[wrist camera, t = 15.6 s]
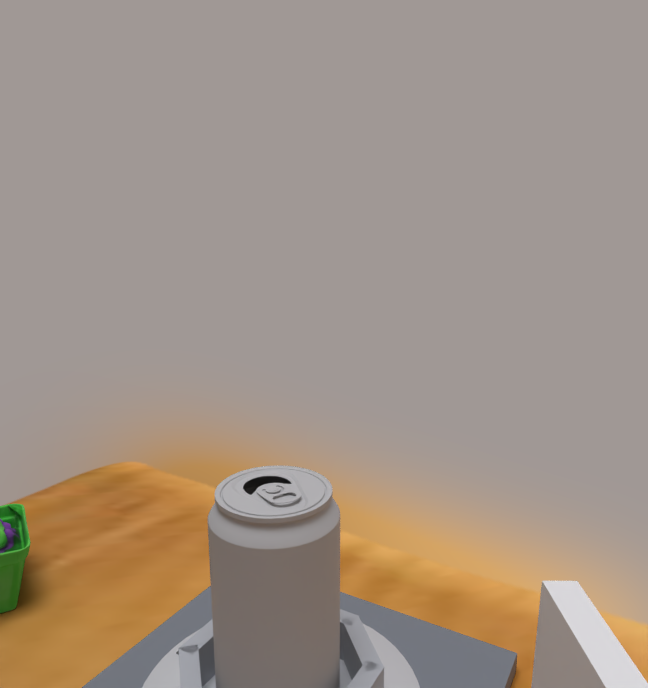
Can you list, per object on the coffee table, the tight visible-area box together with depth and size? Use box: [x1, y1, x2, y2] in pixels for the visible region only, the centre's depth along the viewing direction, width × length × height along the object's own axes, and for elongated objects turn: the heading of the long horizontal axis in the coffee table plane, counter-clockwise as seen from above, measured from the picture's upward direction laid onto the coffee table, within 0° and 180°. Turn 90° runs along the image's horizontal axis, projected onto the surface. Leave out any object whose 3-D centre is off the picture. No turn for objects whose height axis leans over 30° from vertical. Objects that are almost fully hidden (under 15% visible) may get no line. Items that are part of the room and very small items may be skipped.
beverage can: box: [208, 466, 340, 688], centre depth 30 cm, size 6×6×12 cm
